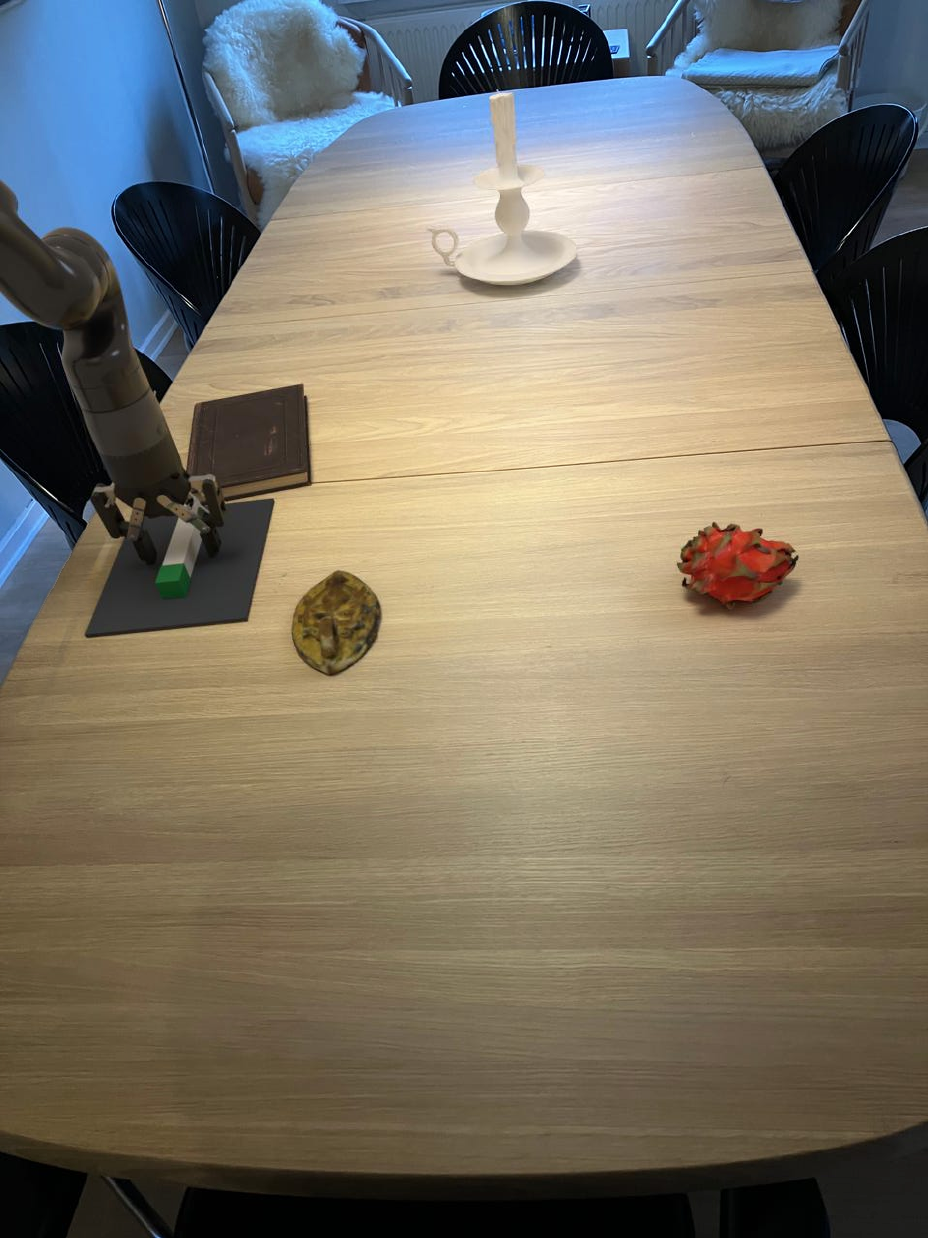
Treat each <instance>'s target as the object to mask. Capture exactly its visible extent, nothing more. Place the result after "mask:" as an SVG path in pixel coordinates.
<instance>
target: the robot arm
mask: <svg viewBox="0 0 928 1238" xmlns="http://www.w3.org/2000/svg"><path fill="white" fill-rule="evenodd" d="M18 209H19V200H18V196H17V195H16V194H15V192H14V191H13V190H12V188H10V186H9V185H8V184H6V183H5V182H4V181H3V180H2V179H1V178H0V294H1V295H2V296H3V297H4V298H5V299H6V301H8V303H10V304H11V305H12V306H13V307H14V308H15V309H16V310H18V311H19V312H20V313H21V314H23V315H24V316H25V317H27V318H28V319H30V320H32V321H33V322H34V323H37V324H38V325H41V326H43V327H45V328H48V329H51V330H54V331H60V332H63V347H62V352H61V364H62V367H63V370H64V373H65V376H66V378H67V381H68V382H69V383H68V384H69V385H70V387H71V389H72V391H73V394H74V396H75V398H76V400H77V402H78V405H79V406H80V409H81V411H82V415H83V419H84V423H85V425H86V428H87V430H88V433H89V437H90V439H91V441H92V442H93V444H94V446H95V448H96V450H97V452H98V454H99V457H100V459H101V461H102V463H103V465H104V468H105V470H106V472H107V474H108V477H109V478H110V480H111V482H112V483H113V485H107V484H105V483H102V482H98V483H97V484H96V485H95V487H94V489H93V491H92V492H91V495H90V498H89V501H90V503H91V504H92V506H93V508H94V510H95V512H96V513H97V515H98V517H99V519H100V520H101V522H102V525H103V526H104V527H105V529H106V531H107V534H108V535H109V536H110V538H112V539H113V540H114V539H115V540H117V539H120V538H124V537H126V538H128V539H129V540H130V541H132V543H133V545H134V547H135V549H136V551H137V554H138V556H139V558H140V559H141V560H142V561H145V562H146V564H147V565H152V564H155V561H156V558H157V551H156V549H155V546H154V544H153V542H152V540H151V538H150V535H149V533H148V531H147V529H143V524H144V519H145V516H147V517H148V518H149V519H151V518H157V517H160V516H176V515H177V516H178V517H179V518H180V519H181V520H183V521H184V522H185V523H191V524H192V525H193V526H194V527H195V528H197V529H198V530H199V531H200V536H201V539H202V541H203V544H204V546H205V549H206V551H207V554H208V556H209V558H215V557H216V556H217V553H219V550H220V547H221V539H220V536H219V534H218V531H217V528H216V527H222V526H223V525H224V521H225V518H226V514H227V507H226V501H225V500H224V497H223V493H222V490H221V486H220V483H219V479H218V476H217V473H216V472H215V471H213V470H209V471H207V472H206V475H204V476H191V475H190V474H189V473H188V472H187V471H186V468H184V466H183V462H182V459H181V456H180V454H179V450H178V448H177V446H176V443H175V440H174V438H173V436H172V433H171V430H170V427H169V425H168V422H167V420H166V418H165V415H164V413H163V410H162V407H161V404H160V402H159V401H158V399H157V397H156V395H155V393H154V392H153V390H152V388H151V385H150V384H149V381H148V378H147V376H146V373H145V371H144V369H143V366H142V363H141V361H140V358H139V356H138V354H137V351H136V349H135V347H134V344H133V341H132V337H131V330H130V323H129V318H128V314H127V308H126V304H125V303H126V302H125V299H124V298H125V297H124V294H123V290H122V285H121V282H120V279H119V275H118V272H117V270H116V268H115V267H116V266H115V265H114V263H113V260H112V259H111V257H110V255H109V253H108V252H107V250H106V249H105V248H104V246H103V245H102V244H101V243H100V242H99V241H98V240H97V239H96V238H95V237H94V236H92V235H91V234H90V233H88V232H86V231H84V230H82V229H80V228H76V227H72V226H61V227H57V228H54V229H52V230H50V231H48V232H47V233H45V234H44V235H43V236H42V237H41V238H40V236H38V234H36V233H35V232H34V230H33V229H32V228H30V227H29V225H28V224H27V223H25V222H24V220H23V219H22V218H21V217H20V215H19V214H18V211H19V210H18ZM191 488H195V489H196V490H198V492H199V494H200V496H201V497H205V499H206V502H207V505H206V506H208V509H209V511H208V510H207V509H206V508H205V507H203V506H204V505H201V503H200V500H199V499H198V498H197V497H196V496H194V495H193V494H192V493H191V492H190V490H191ZM117 499H118V501H120V502H122V503H123V504H125V505H126V506H127V507H129V508H130V509H131V514H130V517H129V521H128V520H125V517H124V516H123V513H122V511H121V510H120V508H119V506H118V504H117V503H116V500H117ZM185 503H186V504H185ZM185 506H186V507H185Z"/></svg>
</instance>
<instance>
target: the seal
mask: <svg viewBox="0 0 928 1238" xmlns="http://www.w3.org/2000/svg"><path fill="white" fill-rule="evenodd" d="M380 617H381V605H380V601H379V598H378V596H377V594H376V593H375V592H374V590H373V589H372V588H371V587H370V586H369V585H368V584H367V583H366V582H364V581H363V580H362V579H360V578H359V577H358V576H356V575H354V574H353V573H351V572H349V571H346V570H345V571H344V570H339V569H338V570H335V571H333V572H332V573H330V574H329V575H328V576H326V577H325V578H324V579H322V580H321V581H320V582H318V583H317V584H315V585H313V587H311V588H310V589H308V591H307V592H305V594H304V595H303V596H302V597H301V598H300V599H299V601H298V602H297V604H296V605H295V608H294V612H293V615H292V623H291V630H290V631H291V639H292V643H293V645H294V647H295V650H296V652H297V654H298V656H299V657H300V658H301V659H302V660H303V661H305V663H306V664H307V665H309V666H310V667H312V668H314V669H315V670H318V671H320V672H322V673H324V674H327V675H334V674H337V673H339V672H342V671H343V670H345V669H346V668H347V667H350V666H351V665H354V663H356V662H357V661H359V659H361V658H362V657H363V656H364V655H365V654H366V652H367V651H368V650H369V649H370V647H371V646H372V644H373V643H374V641H375V638H376V636H377V632H378V625H379V621H380Z"/></svg>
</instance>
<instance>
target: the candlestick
mask: <svg viewBox="0 0 928 1238" xmlns="http://www.w3.org/2000/svg"><path fill="white" fill-rule="evenodd" d="M496 92H497V93H495V94H492V95H490V96H489V97H488V99H489V101H488V102H489V111H490V124H492V129H493V139H494V150H495V151H494V152H495V162H496V163H497V166H496V167H492V168H489V169H486V170H483V171H482V172H480V173H478V174H477V175H475V177H474V178H473V184H474V186H476V187H477V188H480V189H482V190H488V191H497V192H499V199H498V202H497V204H496V206H495V210H494V218H495V222H496V225H497V226H498V229H500V231H501V232H502V233H499V234H494V235H490V236H487V237H484V238H481V239H479V240H477V241H474V242H473V243H472V242H471V243H470V244H469V245H467V246H465V247H464V248H462V250H461V251H459V252H458V253H457V255H456V257H455V259H454V261H451V260H450V258H449V257H450V256H451V255H453V254H455V252H457V249H458V247H459V237H458V234H457V232H456V231H455V230H454V229H453V228H451V227H447V226H441V227H435V226H427V227H426V231H428V232H430V233H432V236H431V246H432V248H433V251H435V252H436V253H437V254H438V255H440V256H441V257H442V260H443V262H444V264H445V265H446V266H448V267H455V269H456V270H457V272H459V273H460V274H462V275H464V277H467V278H470V279H474V280H478V281H480V282H482V283H487V284H489V285H490V284H491V285H499V286H516V285H525V284H530V283H533V282H536V281H541V279H544V278H547V277H549V276H551V275H553V274H554V273H556V272H557V271H559V270H561V269H563V268H564V267H566V266H568V265H569V264H570V263H571V262H572V261H573V260H574V259H575V258H576V256H577V254H578V249H579V248H578V245H577V243H576V242H575V241H574V240H573V239H572V238H570V237H569V236H567V235H564V234H561V233H559V232H558V233H557V232H553V231H549V230H548V231H547V230H525V229H526V227H527V226H528V223H529V222H530V221H529V220H530V216H531V211H530V207H529V205H528V203H527V201H526V200H525V198H524V197H523V194H522V189H523V188H524V187H528V186H531V185H533V184H535V183H537V182H539V181H540V180H542V179H543V178H544V177H545V176H546V172H545V169H544V168H542V167H541V166H538V165H533V164H527V163H526V164H525V163H518V161H517V149H516V147H517V146H516V143H517V142H518V140H517V132H516V104H515V93H514V92H500V91H499V89H496ZM442 233H446V234H449V235H450V236H451V237H452V239H453V246H452V247H451V248H450V249H442V248H441V247H439V245H438V244H437V236H438V235H440V234H442Z"/></svg>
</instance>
